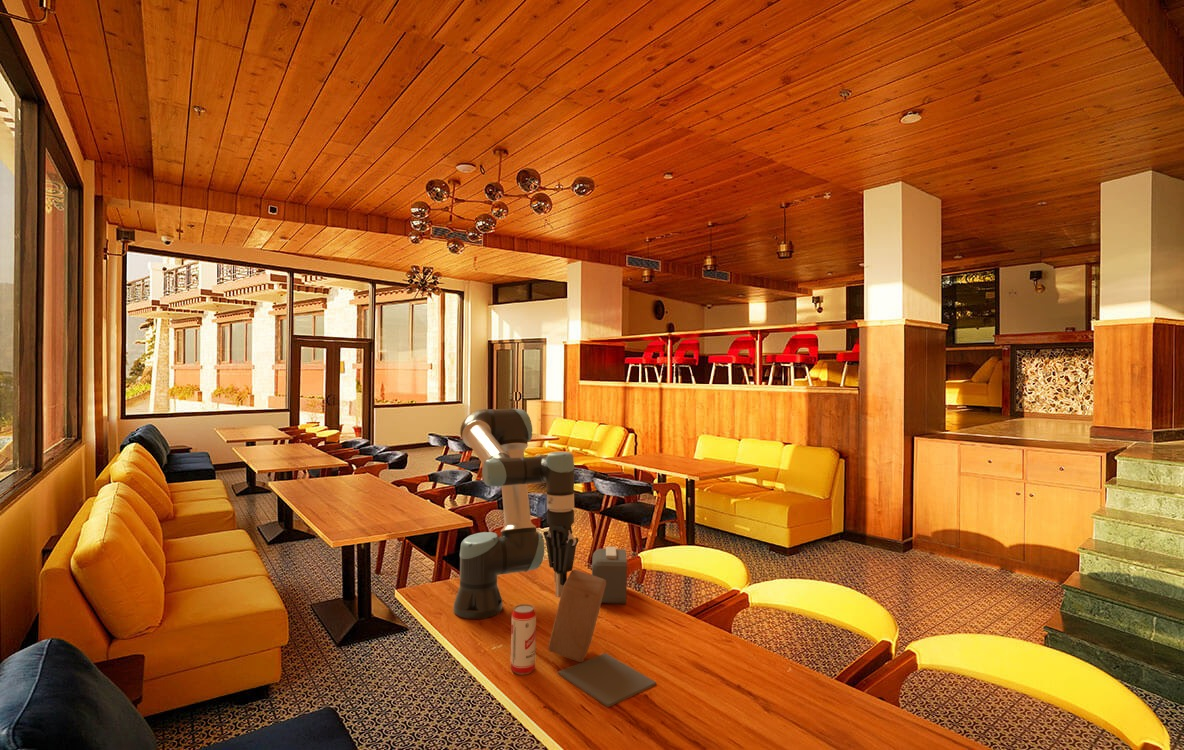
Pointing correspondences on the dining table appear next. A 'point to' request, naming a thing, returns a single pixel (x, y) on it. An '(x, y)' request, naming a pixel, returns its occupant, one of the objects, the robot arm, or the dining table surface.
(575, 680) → the mat
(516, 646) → the beer can
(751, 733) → the dining table surface
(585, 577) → the wooden block
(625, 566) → the alarm clock
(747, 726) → the dining table surface
